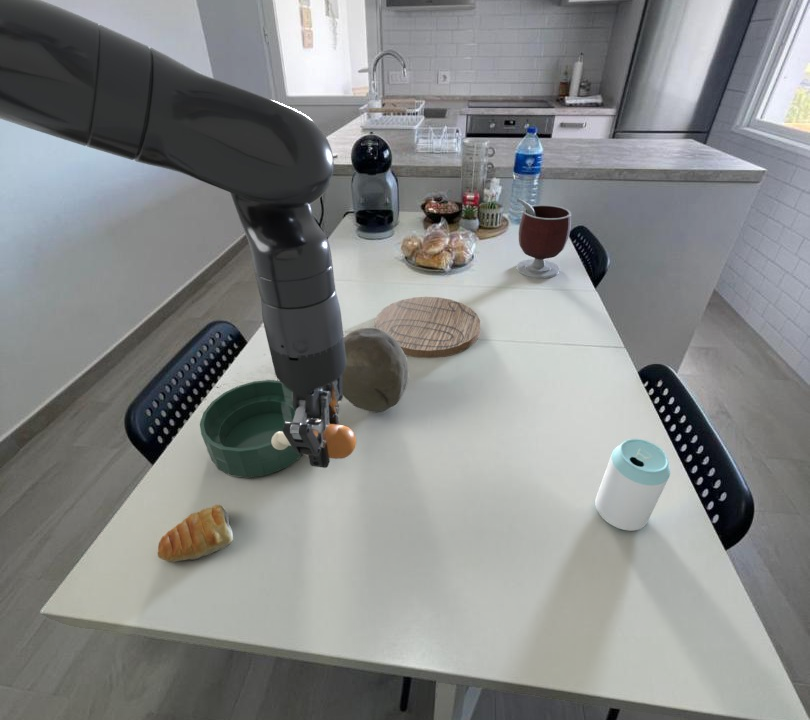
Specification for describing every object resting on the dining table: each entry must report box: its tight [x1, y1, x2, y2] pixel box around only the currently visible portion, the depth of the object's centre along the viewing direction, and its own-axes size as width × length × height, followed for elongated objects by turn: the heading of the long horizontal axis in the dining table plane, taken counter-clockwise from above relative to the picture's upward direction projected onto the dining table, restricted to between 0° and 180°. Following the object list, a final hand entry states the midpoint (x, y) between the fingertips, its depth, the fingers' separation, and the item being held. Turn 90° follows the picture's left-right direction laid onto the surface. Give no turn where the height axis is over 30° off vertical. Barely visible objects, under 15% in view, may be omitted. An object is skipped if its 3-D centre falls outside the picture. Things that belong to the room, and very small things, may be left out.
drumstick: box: [271, 424, 357, 460], centre depth 54 cm, size 11×4×4 cm, turn 81°
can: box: [594, 438, 671, 532], centre depth 61 cm, size 7×7×12 cm
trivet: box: [374, 296, 481, 359], centre depth 106 cm, size 25×25×2 cm
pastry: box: [157, 504, 234, 563], centre depth 61 cm, size 9×7×4 cm
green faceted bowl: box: [199, 379, 312, 479], centre depth 76 cm, size 17×17×6 cm
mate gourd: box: [516, 198, 572, 279], centre depth 128 cm, size 16×14×20 cm
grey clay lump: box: [342, 327, 409, 413], centre depth 81 cm, size 14×14×15 cm
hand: (325, 450), depth 55 cm, fingers closed on drumstick, 4 cm apart
